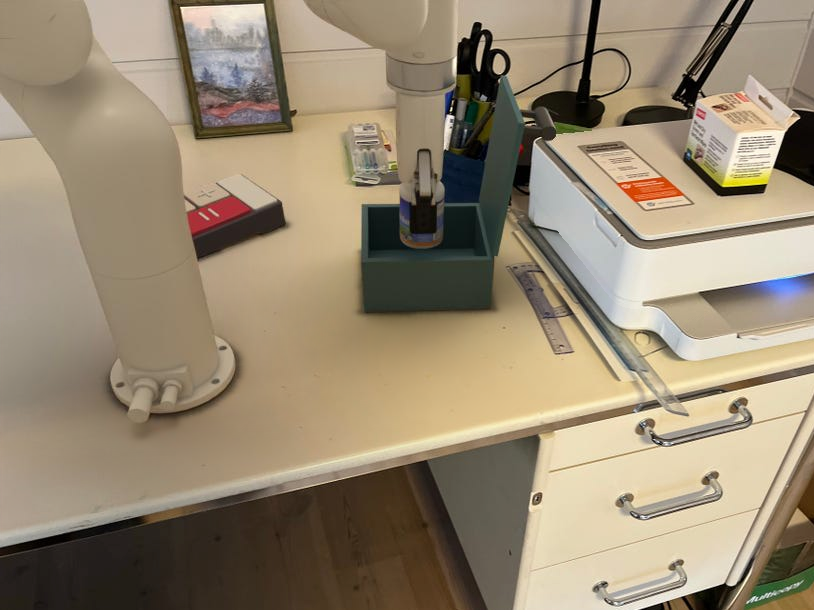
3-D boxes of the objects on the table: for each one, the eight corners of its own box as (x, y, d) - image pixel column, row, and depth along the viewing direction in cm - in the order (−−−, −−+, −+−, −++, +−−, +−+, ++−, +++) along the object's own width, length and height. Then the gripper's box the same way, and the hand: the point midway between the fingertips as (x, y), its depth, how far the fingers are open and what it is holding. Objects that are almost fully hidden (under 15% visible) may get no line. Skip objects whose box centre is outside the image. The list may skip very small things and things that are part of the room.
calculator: (140, 205, 101) (239, 168, 108) (149, 232, 104) (245, 194, 111) (181, 238, 95) (282, 197, 103) (189, 266, 98) (287, 224, 106)
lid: (518, 122, 78) (569, 128, 79) (500, 75, 88) (545, 80, 89) (492, 256, 88) (537, 259, 89) (478, 199, 98) (519, 203, 100)
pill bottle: (394, 231, 94) (392, 159, 88) (434, 224, 96) (435, 153, 90) (408, 253, 91) (407, 180, 84) (449, 246, 93) (452, 173, 86)
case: (364, 312, 91) (361, 261, 87) (364, 252, 102) (361, 203, 97) (490, 309, 93) (494, 259, 89) (478, 250, 104) (481, 202, 99)
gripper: (384, 42, 86) (388, 186, 98) (387, 101, 73) (392, 258, 85) (449, 43, 87) (446, 185, 99) (464, 101, 74) (458, 257, 86)
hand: (421, 217), depth 92 cm, fingers closed on pill bottle, 5 cm apart
